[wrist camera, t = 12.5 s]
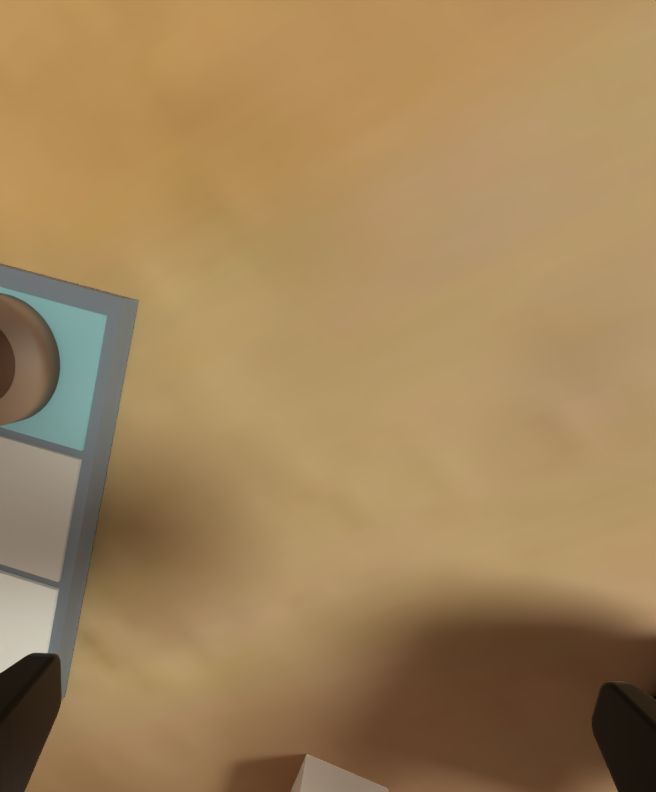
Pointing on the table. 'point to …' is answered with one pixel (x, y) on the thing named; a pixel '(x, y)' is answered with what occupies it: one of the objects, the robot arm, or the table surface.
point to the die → (330, 779)
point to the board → (58, 467)
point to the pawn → (25, 361)
